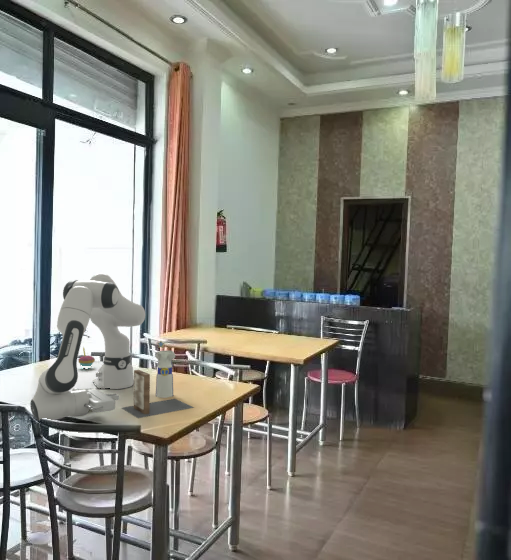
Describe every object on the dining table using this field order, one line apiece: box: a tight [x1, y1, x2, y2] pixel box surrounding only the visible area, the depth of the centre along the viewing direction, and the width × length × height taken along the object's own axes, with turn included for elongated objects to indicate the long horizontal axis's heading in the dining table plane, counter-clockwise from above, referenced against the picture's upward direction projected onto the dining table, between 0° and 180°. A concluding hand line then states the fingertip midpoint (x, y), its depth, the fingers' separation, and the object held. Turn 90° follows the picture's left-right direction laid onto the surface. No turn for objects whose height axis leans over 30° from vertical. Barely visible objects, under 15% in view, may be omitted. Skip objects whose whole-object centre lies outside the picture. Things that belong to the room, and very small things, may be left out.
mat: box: [121, 398, 195, 419], centre depth 192 cm, size 16×24×1 cm, turn 128°
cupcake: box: [78, 346, 96, 367], centre depth 264 cm, size 9×8×12 cm
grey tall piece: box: [155, 340, 176, 399], centre depth 211 cm, size 8×9×25 cm
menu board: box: [133, 369, 151, 414], centre depth 188 cm, size 10×2×15 cm, turn 38°
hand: (117, 396), depth 182 cm, fingers closed
